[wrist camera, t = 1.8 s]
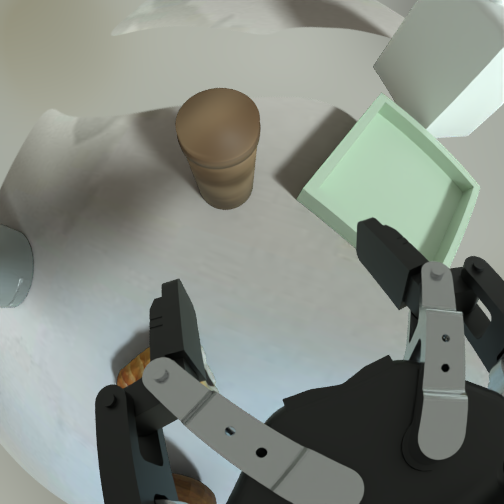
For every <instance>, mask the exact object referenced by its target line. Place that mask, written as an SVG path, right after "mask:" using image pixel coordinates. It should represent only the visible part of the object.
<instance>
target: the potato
mask: <svg viewBox="0 0 504 504" xmlns="http://www.w3.org/2000/svg"><path fill="white" fill-rule="evenodd" d="M172 476H173V480H174V484H175V488H176V492H177V496H178V499H179V501H181V502H185V503H188V504H217V503H216V498H215V495H214V493H213V492H212V491H211V490H210V489H209V488H208V487H207V486H206V485H204V484H203V483H201V482H200V481H198V480H196V479H193V478H191V477H188V476H184V475H180V474H176V473H172Z"/></svg>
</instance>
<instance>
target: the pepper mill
mask: <svg viewBox="0 0 504 504" xmlns="http://www.w3.org/2000/svg"><path fill="white" fill-rule="evenodd" d="M175 126H176V132H177V138H178V142H179V144H180V147H181V149H182V151H183V153H184V154H185V156H186V157H187V160H188V162H189V165H190V168H191V170H192V173H193V175H194V177H195V180H196V182H197V185H198V187H199V190H200V192H201V195H202V197H203V198H204V200H205V201H206V202H207V203H208V204H209V205H211V206H212V207H214V208H217V209H222V210H229V209H234V208H236V207H239V206H240V205H242V204H243V203H245V202H246V201H247V199H248V198H249V196H250V195H251V192H252V189H253V179H254V170H255V160H256V151H257V145H258V142H259V137H260V115H259V111H258V109H257V106H256V105H255V103H254V102H253V101H252V100H251V99H250V98H249V97H248V96H246V95H245V94H243V93H241V92H239V91H236V90H233V89H227V88H214V89H208V90H205V91H202V92H200V93H197V94H196V95H194V96H192V97H191V98H189V99H188V100H187V101H186V102H185V103H184V104H183V105H182V107H181V108H180V110H179V112H178V114H177V117H176V123H175Z"/></svg>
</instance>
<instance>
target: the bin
mask: <svg viewBox="0 0 504 504" xmlns="http://www.w3.org/2000/svg"><path fill="white" fill-rule="evenodd" d="M479 191H480V186H479V185H478V183H476V181H475V180H474V179H473V178H472V176H471V175H470V174H469V173H468V172H467V171H466V170H465V168H464V167H463V166H462V165H461V164H460V163H459V162H458V161H457V160H456V159H455V158H454V157H453V155H452V154H451V153H450V152H449V151H447V149H446V148H445V147H444V146H443V145H442V144H441V143H440V142H439V141H438V140H437V139H436V138H435V137H434V136H432V135H431V134H430V133H429V132H428V131H427V130H426V129H425V128H424V127H423V126H422V125H421V124H419V123H418V122H417V121H416V120H415V119H414V118H413V117H411V116H410V115H409V114H408V113H407V112H406V111H404V110H403V109H402V108H401V107H399V106H398V105H397V104H396V103H395V102H393V101H392V100H391V99H389V98H388V97H387V96H385V95H384V94H383V93H381V94H380V95H379V96H378V97H377V99H376V100H375V101H374V102H373V103H372V105H371V106H370V107H369V108H368V110H367V111H366V112H365V113H364V114H363V116H362V117H361V118H360V119H359V121H358V122H357V123H356V124H355V125H354V127H353V128H352V129H351V130H350V131H349V133H348V134H347V135H346V136H345V138H344V139H343V140H342V141H341V142H340V144H339V145H338V146H337V147H336V149H335V150H334V151H333V152H332V153H331V155H330V156H329V157H328V158H327V160H326V161H325V162H324V163H323V165H322V166H321V167H320V168H319V169H318V171H317V172H316V173H315V174H314V176H313V177H312V178H311V179H310V180H309V182H308V183H307V184H306V185H305V187H304V188H303V189H302V191H301V193H300V194H299V196H298V198H297V199H296V200H297V201H299V202H300V203H301V204H303V205H304V206H305V207H306V208H308V209H309V210H310V211H311V212H313V213H314V214H315V215H316V216H318V217H319V218H320V219H321V220H322V221H324V222H325V223H326V224H327V225H329V226H330V227H331V228H332V229H333V230H335V231H336V232H337V233H338V234H339V235H341V236H342V237H343V238H344V239H345V240H346V241H348V242H349V243H350V244H351V245H352V246H354V247H355V248H356V241H357V224H358V222H359V221H362V220H366V219H369V218H372V217H374V218H376V219H377V220H378V221H379V222H380V223H381V224H382V225H388V226H390V227H392V228H394V229H396V230H397V231H398V232H399V233H400V234H401V235H402V236H403V238H404V237H405V238H406V239H407V240H408V241H409V243H411V244H412V245H413V246H414V247H415V248H416V249H417V250H418V251H419V252H420V253H421V254H422V255H423V256H424V257H425V258H426V259H427V260H428V261H429V262H430V261H437V262H440V263H443V264H444V265H446V266H447V267H448V268H449V267H450V265H451V263H452V261H453V259H454V257H455V254H456V252H457V250H458V247H459V245H460V243H461V240H462V238H463V235H464V233H465V230H466V228H467V225H468V223H469V220H470V217H471V214H472V212H473V209H474V206H475V203H476V200H477V197H478V194H479Z"/></svg>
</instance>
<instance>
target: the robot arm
mask: <svg viewBox="0 0 504 504" xmlns="http://www.w3.org/2000/svg"><path fill="white" fill-rule="evenodd" d="M356 252H357V255H358V258H359V260H360V262H361V263H362V264H363V265H364V266H365V268H366V269H367V270H368V271H369V273H370V274H371V275H372V276H373V278H374V279H375V280H376V281H377V283H378V284H379V285H380V286H381V288H382V289H383V290H384V291H385V293H386V294H387V295H388V297H389V298H390V299H391V300H392V302H393V303H394V304H395V306H396V307H397V308H398V310H400V309H402V308H404V307H406V306H408V308H409V309H410V310H409V314H408V330H407V343H406V351H405V355H404V358H403V360H395V361H392V359H391V357H390V356H389V355H387V356H385V357H383V358H381V359H379V360H377V361H375V362H373V363H371V364H369V365H367V366H365V367H364V368H362V369H361V370H360V371H359V372H357V373H356V374H355V375H354V376H352V377H351V378H350V379H348V380H347V381H346V382H345V383H343V384H341V385H336V386H330V387H323V388H316V389H310V390H307V391H305V392H302V393H299V394H296V395H294V396H291V397H288V398H285V399H283V402H284V405H285V406H283V407H282V408H280V409H278V410H277V411H276V412H275V413H273V414H272V415H271V416H270V417H269V418H268V420H267V421H266V422H265V423H262V422H261V421H259V420H257V419H256V418H254V417H253V416H251V415H250V414H248V413H247V412H245V411H244V410H242V409H241V408H239V407H238V406H236V405H235V404H233V403H232V402H230V401H229V400H228V399H226V398H225V397H223V396H222V395H221V394H219V393H217V392H216V391H214V390H213V391H211V390H210V389H208V388H207V387H206V386H204V385H203V384H202V383H200V382H202V381H206V380H207V379H206V374H205V368H204V362H203V357H202V351H201V345H200V339H199V332H198V326H197V319H196V314H195V310H194V307H193V305H192V302H191V300H190V298H189V296H188V294H187V293H186V291H185V289H184V287H183V285H182V283H181V281H180V279H176V280H173V281H170V282H166V283H163V284H162V297H160V298H156V299H154V301H153V303H152V306H151V308H150V363H149V364H148V365H147V366H146V367H145V369H144V371H143V375H142V377H141V378H140V379H139V380H137V381H136V382H134V383H132V384H130V385H129V386H127V387H125V388H123V389H122V388H121V387H120V386H118V385H108V386H106V387H104V388H103V389H101V390H100V392H99V393H98V395H97V397H96V401H95V416H96V437H97V450H98V461H99V470H100V478H101V485H102V491H103V497H104V503H105V504H188V503H185V502H181V501H179V499H178V496H177V492H176V488H175V484H174V480H173V476H172V472H171V468H170V463H169V459H168V454H167V450H166V445H165V440H164V434H163V429H162V427H164V426H166V425H168V424H170V423H171V422H173V421H175V420H177V419H179V420H180V421H181V422H182V423H183V424H184V425H185V426H186V427H187V428H188V429H189V430H190V431H191V432H193V433H194V434H195V435H196V436H197V437H198V438H200V439H201V440H202V441H203V442H205V443H206V444H207V445H208V446H210V447H211V448H212V449H213V450H215V451H216V452H217V453H218V454H220V455H221V456H222V457H224V458H225V459H226V460H228V461H229V462H230V463H232V464H233V465H235V466H236V467H237V468H239V469H240V470H242V472H241V474H240V476H239V478H238V480H237V482H236V484H235V487H234V489H233V491H232V493H231V495H230V497H229V499H228V501H227V503H226V504H504V281H503V280H502V278H501V277H500V276H499V275H498V274H497V273H496V272H495V271H494V270H493V268H492V267H491V266H490V265H489V264H488V263H487V262H486V261H485V260H483V259H481V258H479V257H476V256H471V257H468V258H467V259H466V260H465V262H464V265H463V267H458V268H451V269H449V268H448V267H447V266H446V265H444V264H443V263H440V262H437V261H430V262H429V261H428V260H427V259H426V258H425V257H424V256H423V255H422V254H421V253H420V252H419V251H418V250H417V249H416V248H415V247H414V246H413V245H412V244H411V243H409V241H408V240H407V239H406V238H405V237H404V238H403V236H402V235H401V234H400V233H399V232H398V231H397V230H396V229H394V228H392V227H390V226H388V225H382V224H381V223H380V222H379V221H378V220H377V219H376V218H374V217H372V218H369V219H366V220H362V221H359V222H358V224H357V241H356ZM32 276H33V256H32V251H31V247H30V245H29V242H28V240H27V239H26V237H25V236H24V235H23V234H22V233H21V232H19V231H17V230H14V229H11V228H8V227H7V226H5V225H2V224H0V308H11V307H16V306H18V305H19V304H21V303H22V302H23V301H24V299H25V297H26V296H27V294H28V292H29V289H30V286H31V282H32ZM479 299H480V300H481V301H482V303H483V304H484V305H485V306H486V308H487V309H488V310H489V312H490V313H491V317H492V320H491V321H490V320H489V319H488V317H487V316H486V315H485V313H484V312H483V311H482V310H481V308H480V307H479V306H478V304H477V302H478V300H479ZM464 335H465V336H466V338H467V339H468V341H469V342H470V344H471V345H472V347H473V348H474V350H475V351H476V353H477V355H478V356H479V358H480V359H481V361H482V362H483V364H484V366H485V367H486V369H487V371H488V372H489V383H488V388H485V387H482V386H479V385H477V384H474V383H471V382H469V381H466V380H465V339H464Z"/></svg>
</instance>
